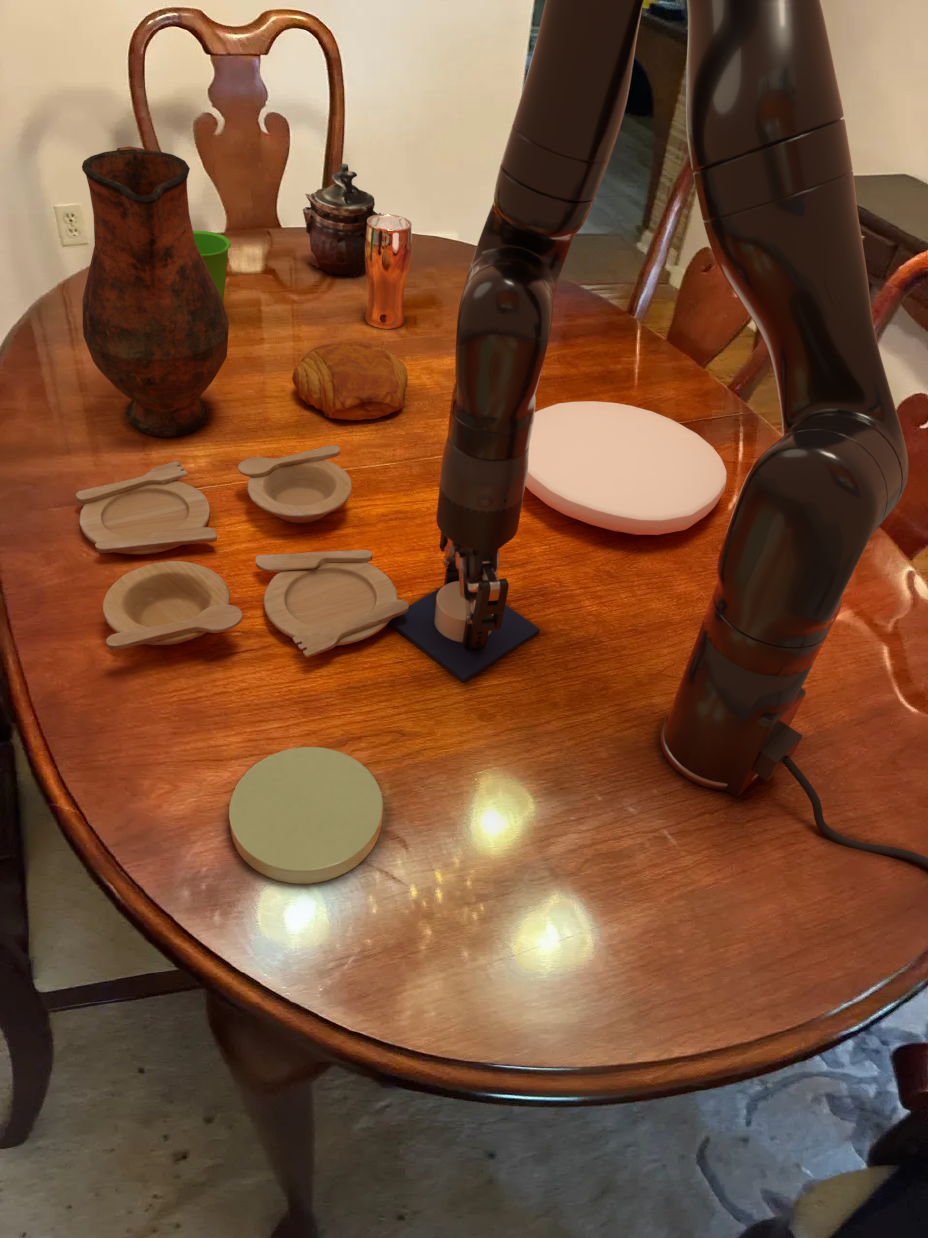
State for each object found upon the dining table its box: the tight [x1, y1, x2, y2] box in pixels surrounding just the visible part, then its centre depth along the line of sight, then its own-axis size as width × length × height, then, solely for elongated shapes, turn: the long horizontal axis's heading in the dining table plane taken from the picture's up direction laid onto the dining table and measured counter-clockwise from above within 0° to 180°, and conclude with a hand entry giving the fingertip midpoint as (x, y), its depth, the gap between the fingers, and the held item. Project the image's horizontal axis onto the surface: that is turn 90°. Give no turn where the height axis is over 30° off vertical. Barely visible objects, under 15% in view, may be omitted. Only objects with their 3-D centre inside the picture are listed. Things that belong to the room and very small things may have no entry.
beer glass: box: [364, 213, 413, 330], centre depth 139 cm, size 7×7×15 cm
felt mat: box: [387, 586, 541, 684], centre depth 93 cm, size 11×11×1 cm
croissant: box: [291, 339, 409, 421], centre depth 123 cm, size 14×16×8 cm
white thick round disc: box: [525, 400, 728, 536], centre depth 114 cm, size 28×6×27 cm
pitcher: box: [81, 146, 230, 438], centre depth 109 cm, size 17×21×30 cm
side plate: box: [228, 746, 384, 885], centre depth 74 cm, size 12×12×2 cm
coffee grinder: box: [302, 163, 382, 278], centre depth 151 cm, size 13×15×18 cm
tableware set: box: [75, 444, 410, 658], centre depth 95 cm, size 35×29×4 cm
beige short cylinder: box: [434, 581, 492, 642], centre depth 92 cm, size 6×6×3 cm
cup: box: [193, 230, 231, 303], centre depth 136 cm, size 9×9×11 cm
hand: (463, 621), depth 93 cm, fingers open, 7 cm apart
